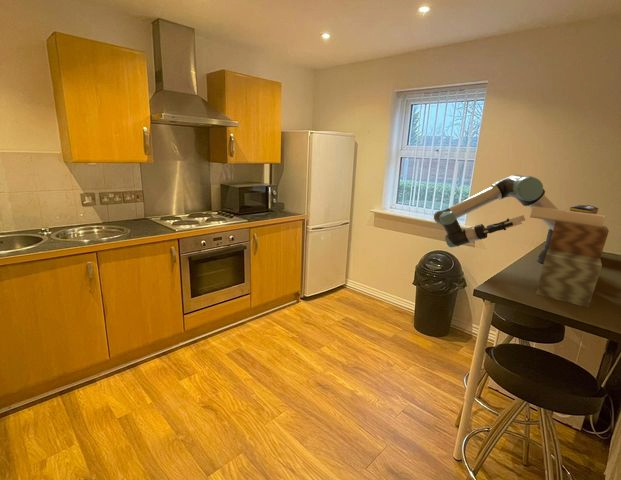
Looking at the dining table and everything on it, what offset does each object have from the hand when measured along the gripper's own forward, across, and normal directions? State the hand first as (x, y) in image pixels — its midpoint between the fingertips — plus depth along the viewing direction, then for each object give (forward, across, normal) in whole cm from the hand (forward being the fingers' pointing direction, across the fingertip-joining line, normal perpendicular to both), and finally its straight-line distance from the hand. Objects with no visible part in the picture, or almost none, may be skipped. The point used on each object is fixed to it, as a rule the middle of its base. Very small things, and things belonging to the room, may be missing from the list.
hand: (522, 219), depth 159 cm
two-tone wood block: (+4, +6, -36) cm, 36 cm away
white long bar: (+14, 0, -6) cm, 16 cm away
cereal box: (+6, -83, -37) cm, 91 cm away
